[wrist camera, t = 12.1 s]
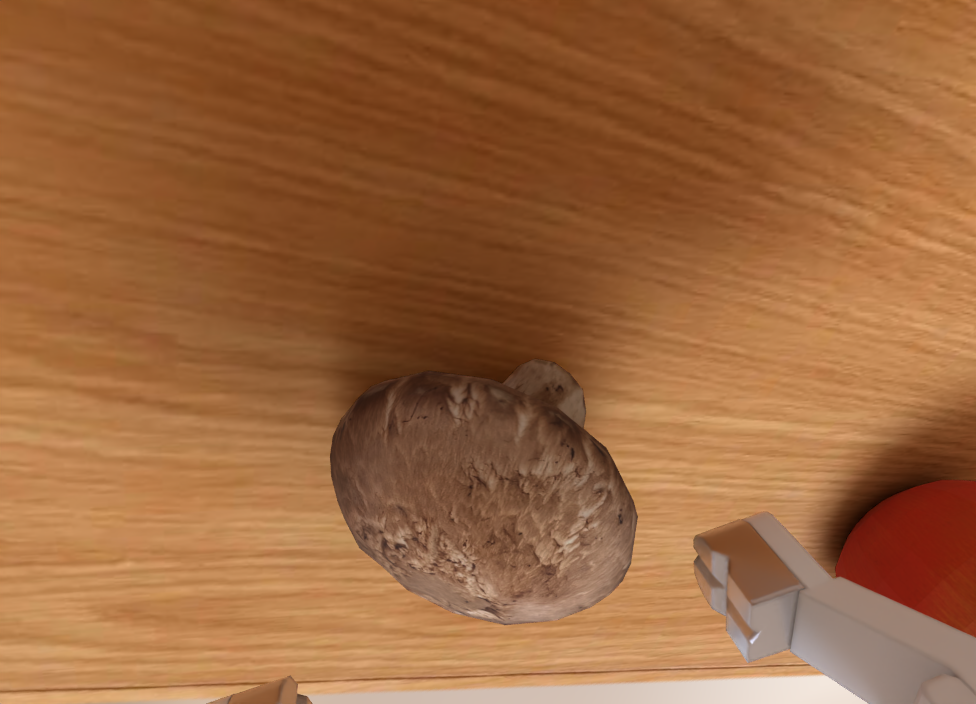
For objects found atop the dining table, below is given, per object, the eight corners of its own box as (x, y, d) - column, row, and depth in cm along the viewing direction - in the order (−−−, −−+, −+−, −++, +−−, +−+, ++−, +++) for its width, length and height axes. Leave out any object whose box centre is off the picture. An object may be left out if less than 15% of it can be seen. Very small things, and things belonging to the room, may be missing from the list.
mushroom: (699, 330, 12) (669, 615, 8) (624, 483, 18) (587, 685, 14) (381, 254, 13) (232, 464, 10) (412, 419, 20) (328, 586, 16)
